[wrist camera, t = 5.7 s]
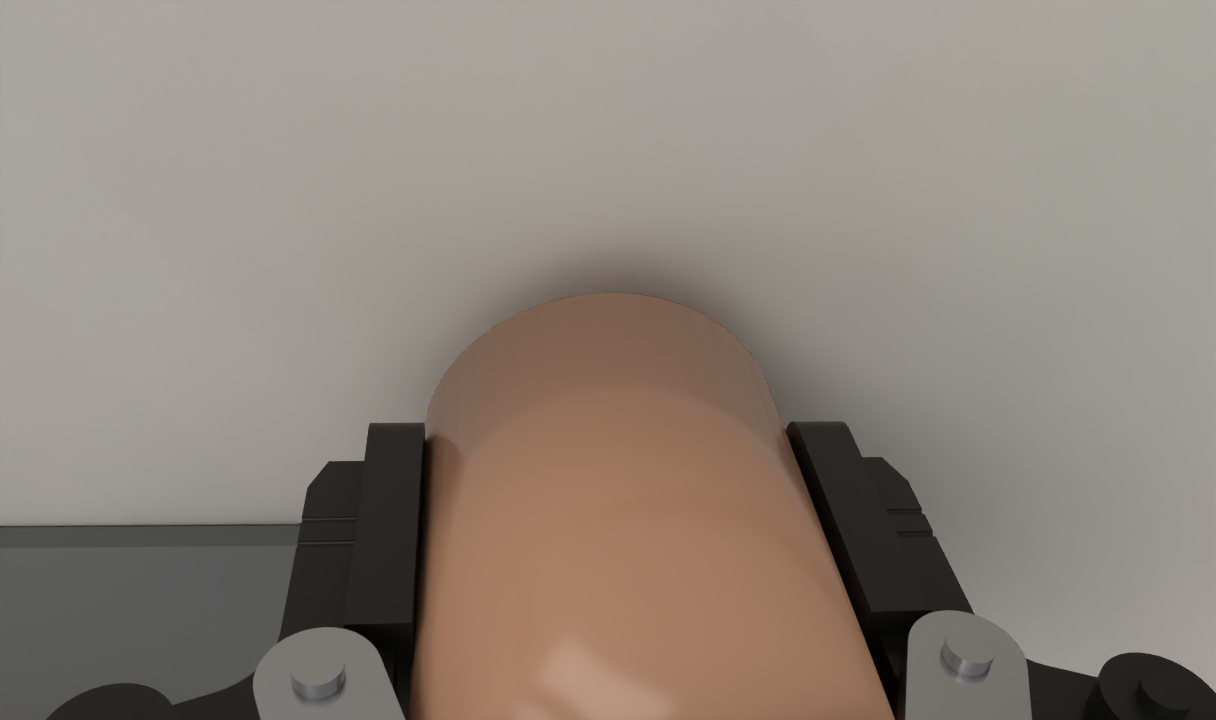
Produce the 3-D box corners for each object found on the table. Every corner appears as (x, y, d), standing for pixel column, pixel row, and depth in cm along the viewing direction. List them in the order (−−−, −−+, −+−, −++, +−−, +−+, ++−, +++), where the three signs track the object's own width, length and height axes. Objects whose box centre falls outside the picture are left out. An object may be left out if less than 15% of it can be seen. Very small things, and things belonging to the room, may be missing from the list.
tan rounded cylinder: (417, 291, 14) (387, 664, 9) (800, 294, 15) (968, 644, 10) (427, 574, 17) (408, 977, 12) (747, 567, 17) (857, 945, 12)
